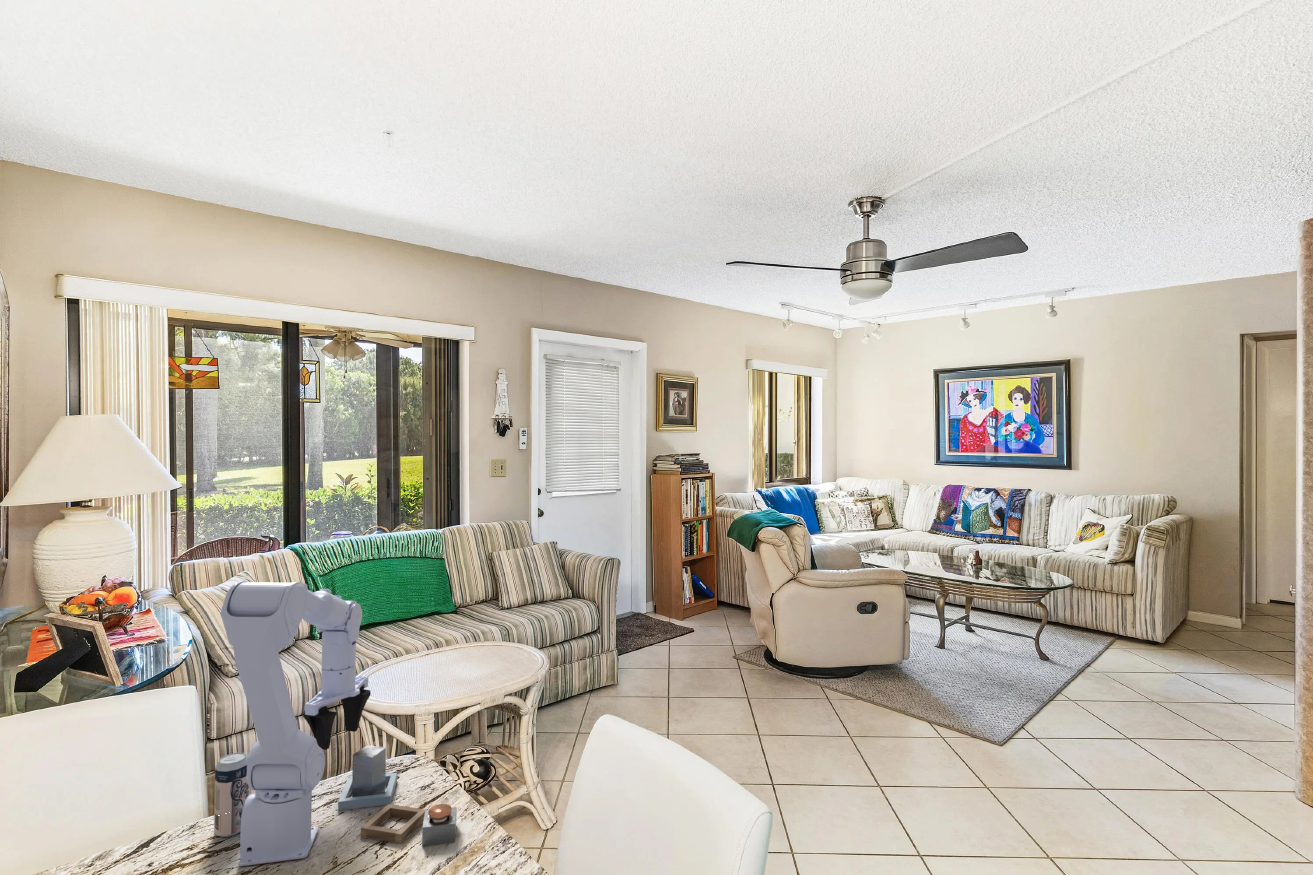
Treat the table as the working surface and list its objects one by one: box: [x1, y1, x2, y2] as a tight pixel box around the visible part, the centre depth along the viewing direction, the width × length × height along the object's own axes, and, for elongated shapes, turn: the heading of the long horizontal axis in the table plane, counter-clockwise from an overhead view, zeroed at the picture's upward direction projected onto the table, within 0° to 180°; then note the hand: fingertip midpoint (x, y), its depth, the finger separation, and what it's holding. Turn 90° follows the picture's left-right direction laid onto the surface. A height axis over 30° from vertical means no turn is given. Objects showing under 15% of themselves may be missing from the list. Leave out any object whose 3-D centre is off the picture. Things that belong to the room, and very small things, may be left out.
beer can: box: [213, 752, 250, 838], centre depth 110 cm, size 5×5×12 cm
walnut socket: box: [360, 804, 428, 844], centre depth 112 cm, size 7×7×2 cm
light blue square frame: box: [337, 772, 398, 811], centre depth 122 cm, size 9×9×2 cm
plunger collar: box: [421, 806, 457, 847], centre depth 110 cm, size 5×5×3 cm
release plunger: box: [428, 803, 452, 823], centre depth 110 cm, size 4×4×4 cm
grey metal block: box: [351, 744, 387, 797], centre depth 122 cm, size 4×4×8 cm
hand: (337, 739), depth 123 cm, fingers open, 7 cm apart
